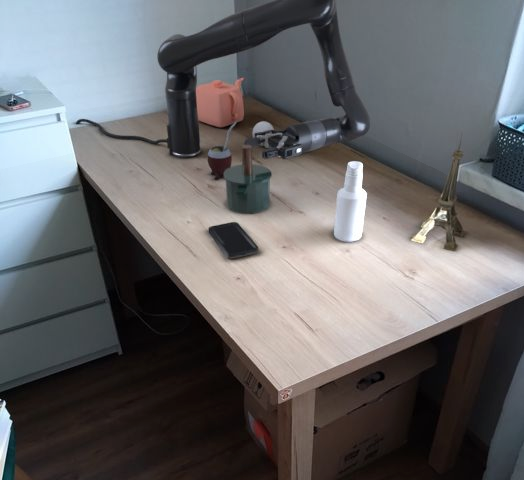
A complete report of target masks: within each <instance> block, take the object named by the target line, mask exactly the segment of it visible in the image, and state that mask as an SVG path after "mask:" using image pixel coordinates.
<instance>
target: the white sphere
mask: <svg viewBox="0 0 524 480" xmlns="http://www.w3.org/2000/svg"><path fill="white" fill-rule="evenodd" d="M250 129H252V133H251V134H252V138H255V133H258V132H263V131H268V130H275V129H274V126H273V125H272V124H271V123H270V122H268V121H263V120H262V121H260V122H257V123H256V124H255V125H254V126H253V128H252V127H250ZM262 143H265V142H262ZM268 144H269V145H270V141H268Z"/></svg>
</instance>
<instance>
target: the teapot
mask: <svg viewBox="0 0 524 480" xmlns="http://www.w3.org/2000/svg"><path fill="white" fill-rule="evenodd" d="M244 80H245V77H240V78H238V79H237V80H236V81H235V83H234V84H230V83H227V82H224V81H223V80H221V79H214V80H212V82H208V83H202V84H200V85H198V86H196V97H197V110H198V122H202V123H204V124H207V125H209V126H214V127H216V128H224V127H227V126H232V125H233V124H234V123H235V122H236V121H237V123H239V122H241V121H243V120H244V116H245V108H244V97H243V92H242V89H241V85H242V82H243V81H244Z"/></svg>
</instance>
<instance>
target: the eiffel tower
mask: <svg viewBox="0 0 524 480" xmlns="http://www.w3.org/2000/svg"><path fill="white" fill-rule="evenodd" d="M461 135H463V132H461ZM462 138H463V136H461V137H460V140H459V145H458V147H457V149H455V150H454V151H453V152H452V155H451V156H450V157H451V158H452V161H451V162H452V163H451V165H450V169H449V171H448V175H447V178H446V181H445V184H444V187H443V191H442V193H441V196H439V198H438V200H437V203H438V204H437V207H435V209H434V211H433V212H432V214H431V215H430V216H429V217H428V218H427V220H425V221H423V222H422V224H421V225H420V228H421V229H420V230H419V231H418V232H417V233H416V234H414V235H413V237H412V238H411V240H410V241H411V242H416V243H419V244H424V242H425V240H426V238H427V236H426V235H427V234H428V233H429V232H430V231H432V230H433V229H434V227H435V228H436V227H440V228H442V229H444V230H445V244H444V246H443V249H444V250H447V251H451V252H456V250H457V249H458V247H459V244H457V241H456V238H455V236H456V237H462V238H464V236H465V235H466V233H467V231H466V230H464V227H463V226H462V224H461V222H460V220H459V218H458V217H457V215H458V212H457V211H456V202H457V199H458V196H457V195H456V190H457V182H458V175H459V169H460V168H459V167H460V160H461V159H462V158H463V157H464V151H463V150H461V143H462ZM443 208H445V209H446V210H442V209H443Z"/></svg>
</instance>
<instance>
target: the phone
mask: <svg viewBox="0 0 524 480" xmlns="http://www.w3.org/2000/svg"><path fill="white" fill-rule="evenodd" d="M208 234H209V235H210V237H211V238H212V240H213V241H214V242H215V243H216V245H217V247H219V249H220V250H221V252H222V253H223V255H224V256H225V257H226V259H229V260H234V259H239V258H243V257H248V256H252V255H257V254H259V246H258V245H257V244H256V243H255V241H254V240H253V239H252V237H250V236H249V234H248V233H247V232H246V230H245V229H244V228H243V227H242V226H241V225H240V224H239V222H237V221H231V222H226V223H221V224H216V225H211V226H209V227H208Z"/></svg>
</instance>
